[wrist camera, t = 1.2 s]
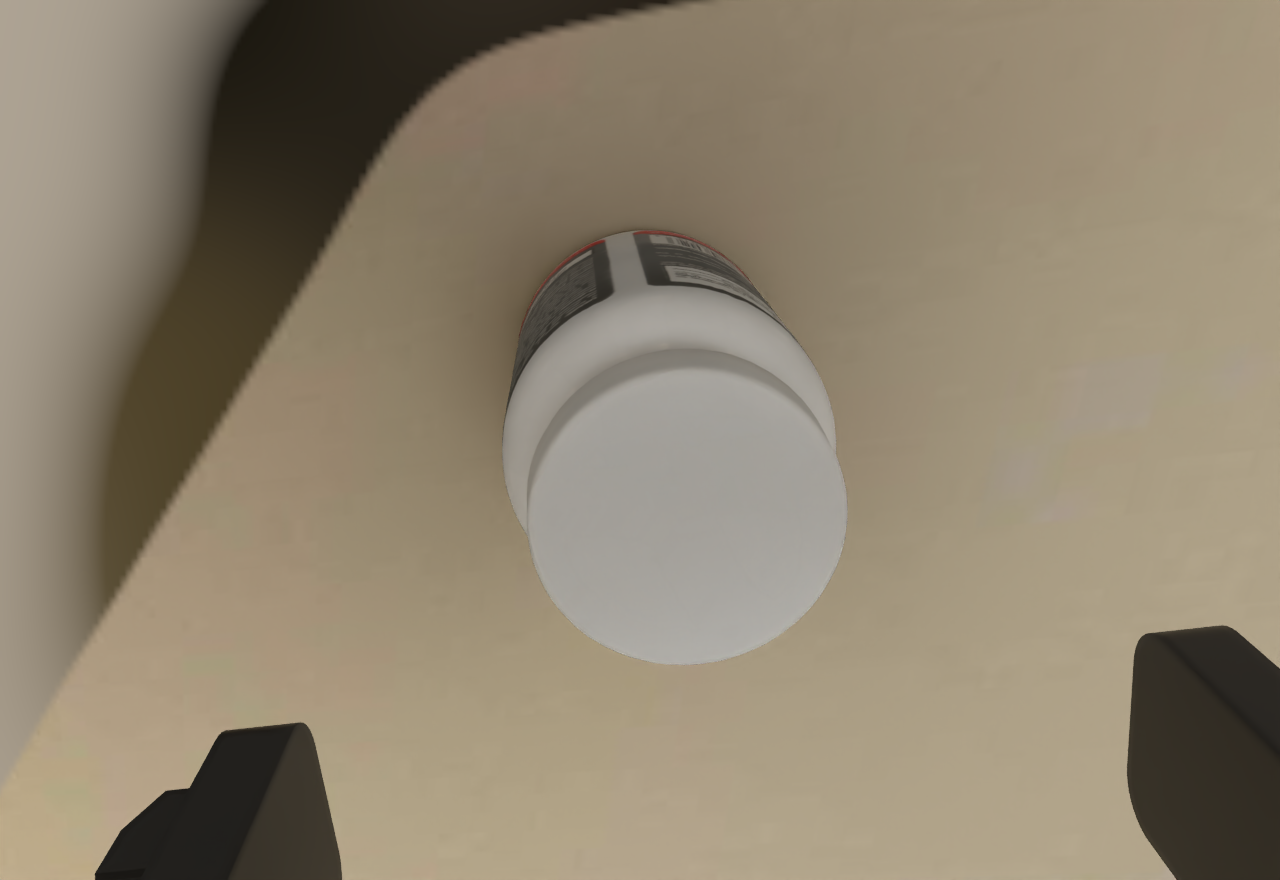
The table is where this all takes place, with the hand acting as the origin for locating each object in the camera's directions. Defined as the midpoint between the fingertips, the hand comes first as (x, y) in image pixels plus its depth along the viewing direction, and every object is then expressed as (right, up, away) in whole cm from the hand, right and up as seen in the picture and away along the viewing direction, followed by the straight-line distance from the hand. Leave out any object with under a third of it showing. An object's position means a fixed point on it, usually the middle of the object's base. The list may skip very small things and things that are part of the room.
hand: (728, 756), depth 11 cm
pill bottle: (-1, +5, +15) cm, 16 cm away
